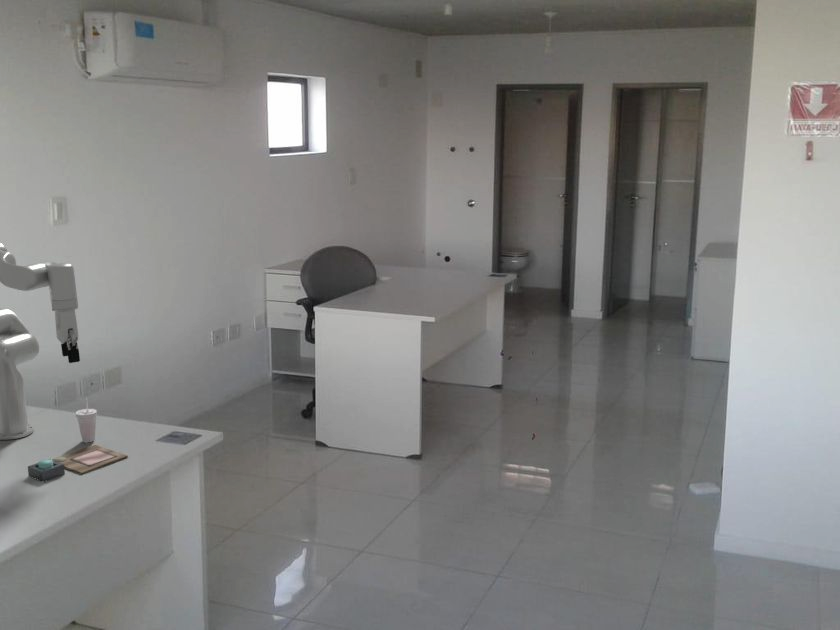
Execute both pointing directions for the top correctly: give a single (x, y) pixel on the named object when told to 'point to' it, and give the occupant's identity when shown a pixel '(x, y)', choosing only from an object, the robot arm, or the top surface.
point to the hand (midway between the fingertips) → (71, 358)
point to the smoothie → (87, 423)
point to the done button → (45, 464)
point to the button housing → (46, 471)
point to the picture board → (89, 459)
